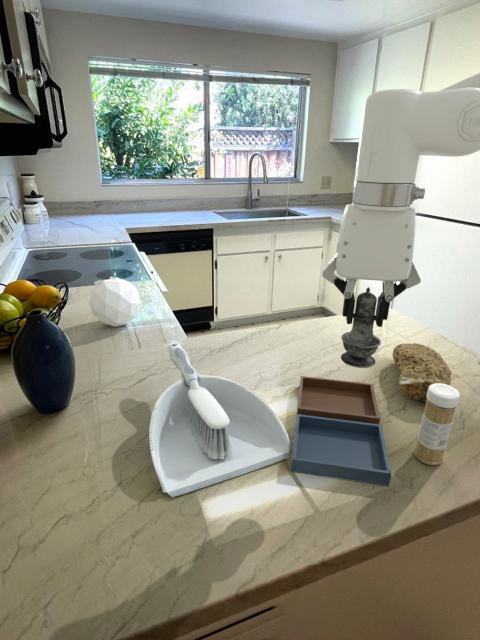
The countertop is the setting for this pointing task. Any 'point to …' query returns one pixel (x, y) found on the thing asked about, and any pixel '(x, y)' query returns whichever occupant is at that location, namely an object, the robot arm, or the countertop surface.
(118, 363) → the countertop surface
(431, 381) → the sponge
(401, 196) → the robot arm
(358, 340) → the grey stone figurine
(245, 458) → the dustpan and brush
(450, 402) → the sprinkles bottle
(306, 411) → the tray walnut
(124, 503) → the countertop surface
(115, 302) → the geodesic sphere
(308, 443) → the tray blue
